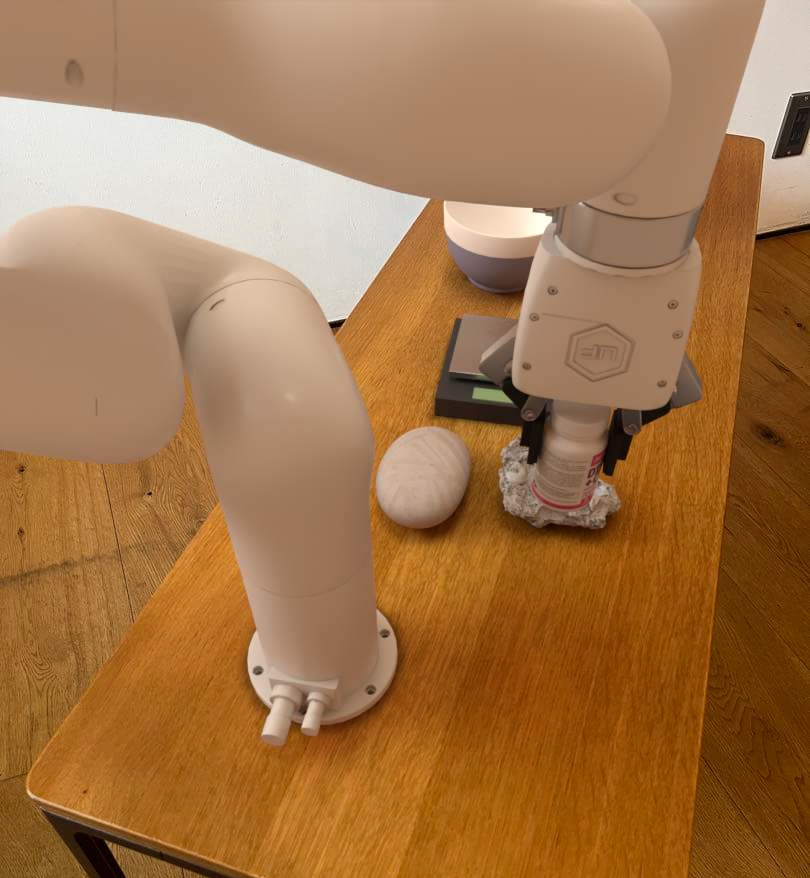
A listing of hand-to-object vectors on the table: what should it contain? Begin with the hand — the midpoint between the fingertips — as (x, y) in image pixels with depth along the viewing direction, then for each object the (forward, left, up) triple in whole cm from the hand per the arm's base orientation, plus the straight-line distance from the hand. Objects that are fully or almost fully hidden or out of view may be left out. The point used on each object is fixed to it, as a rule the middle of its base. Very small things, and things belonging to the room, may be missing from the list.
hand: (570, 455), depth 57 cm
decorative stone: (+11, +13, -18) cm, 24 cm away
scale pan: (+31, +7, -15) cm, 35 cm away
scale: (+30, +7, -18) cm, 36 cm away
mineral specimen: (+11, 0, -18) cm, 21 cm away
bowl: (+52, +10, -18) cm, 56 cm away
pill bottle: (0, 0, -4) cm, 4 cm away
